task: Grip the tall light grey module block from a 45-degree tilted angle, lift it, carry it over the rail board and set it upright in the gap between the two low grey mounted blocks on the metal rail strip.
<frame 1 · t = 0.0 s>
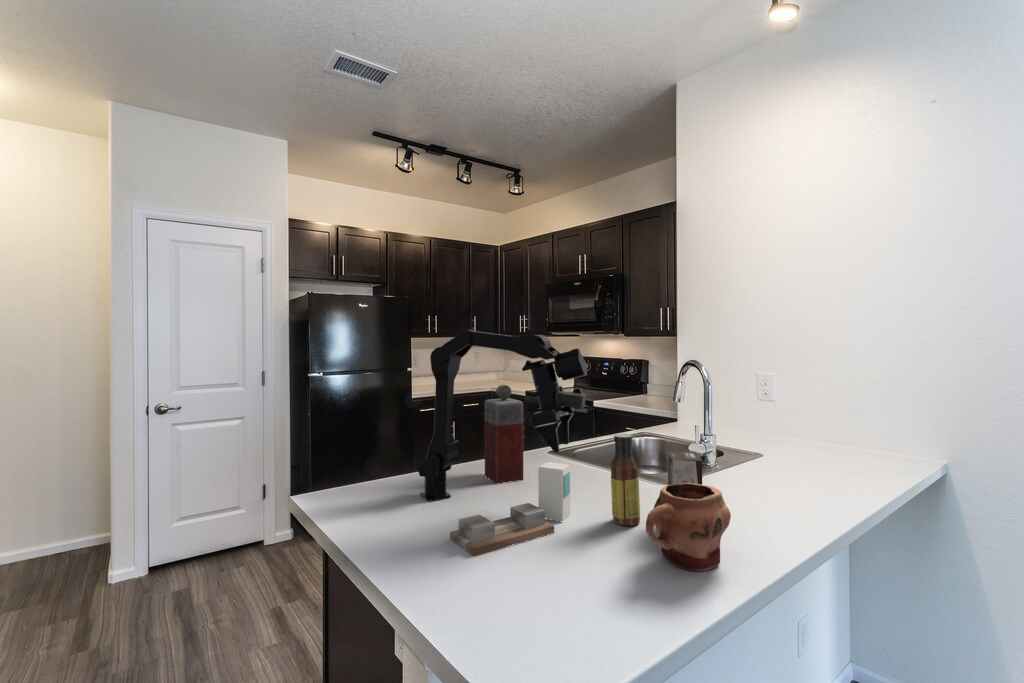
hand: (562, 448, 120), 15 cm above the countertop, tool pointing down, fingers open, 9 cm apart
module: (554, 516, 117), on the countertop
terracotta clay mug: (686, 564, 93), on the countertop
coffee box: (684, 528, 110), on the countertop
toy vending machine: (502, 477, 150), on the countertop
sauce bottle: (625, 523, 113), on the countertop
rail board: (502, 535, 105), on the countertop
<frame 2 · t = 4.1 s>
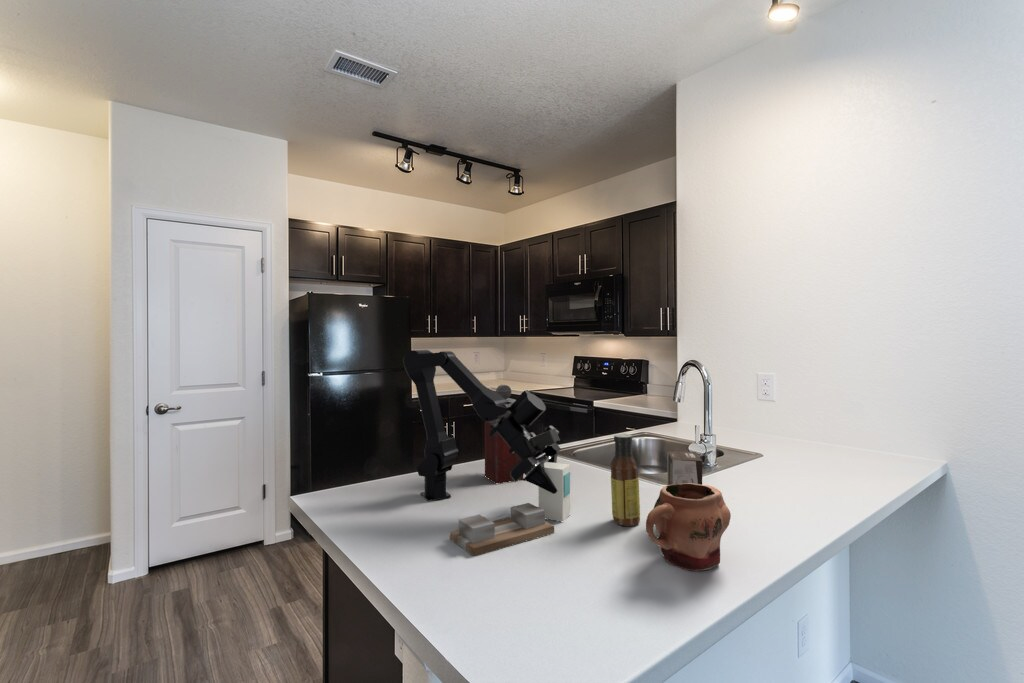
hand: (560, 489, 116), 7 cm above the countertop, tool tilted 45°, fingers closed on module, 5 cm apart
module: (554, 516, 117), on the countertop, touching gripper
everything else where it was.
when the fingers open (9 cm above the countertop, at t = 8.6 s): module stays where it is, resting on rail board.
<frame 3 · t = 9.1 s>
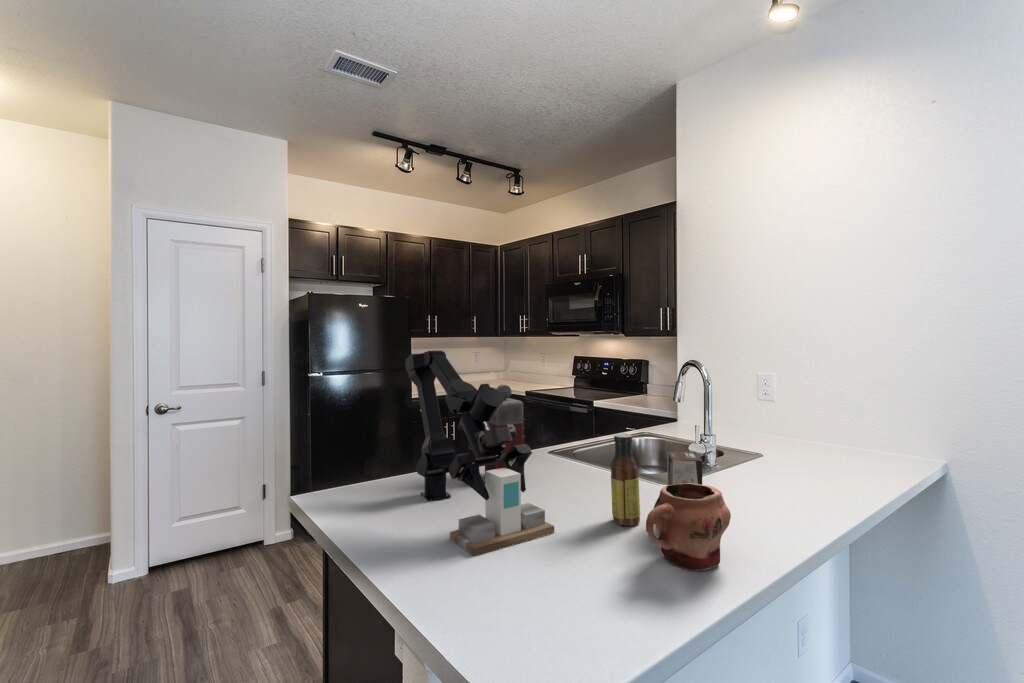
hand: (506, 495, 104), 9 cm above the countertop, tool tilted 45°, fingers open, 9 cm apart
module: (502, 528, 105), point 2 cm above the countertop, touching rail board
everything else where it was.
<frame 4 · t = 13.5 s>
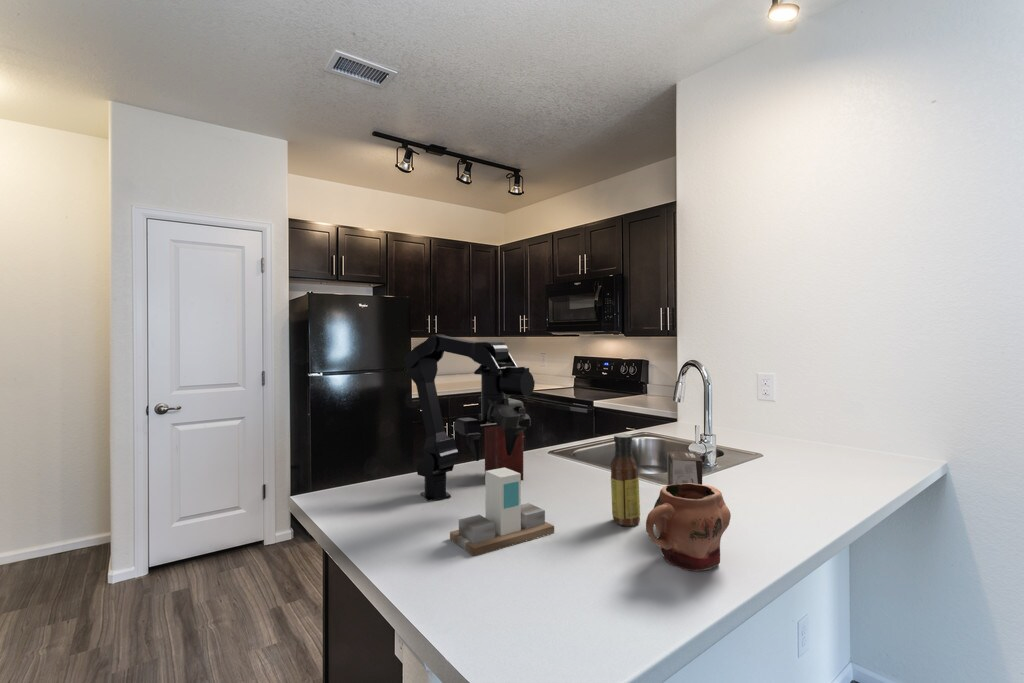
hand: (493, 458, 120), 13 cm above the countertop, tool pointing down, fingers open, 9 cm apart
nothing on the countertop moved.
at the end: module 0.0 cm off-centre on the rail board, point 1.5 cm above the rail board's base; module tilted 0°; the gripper is holding nothing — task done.
